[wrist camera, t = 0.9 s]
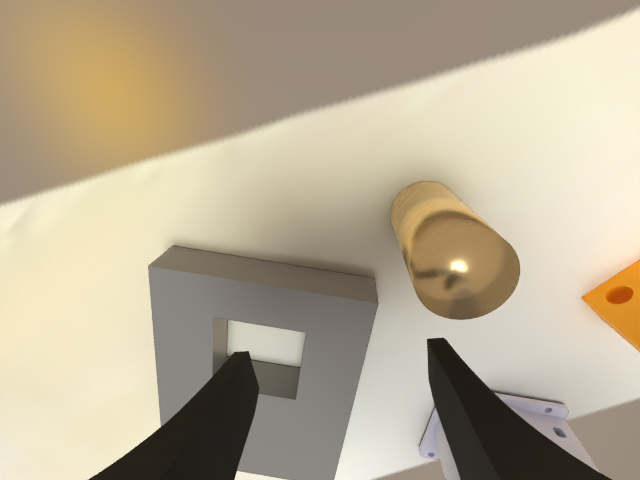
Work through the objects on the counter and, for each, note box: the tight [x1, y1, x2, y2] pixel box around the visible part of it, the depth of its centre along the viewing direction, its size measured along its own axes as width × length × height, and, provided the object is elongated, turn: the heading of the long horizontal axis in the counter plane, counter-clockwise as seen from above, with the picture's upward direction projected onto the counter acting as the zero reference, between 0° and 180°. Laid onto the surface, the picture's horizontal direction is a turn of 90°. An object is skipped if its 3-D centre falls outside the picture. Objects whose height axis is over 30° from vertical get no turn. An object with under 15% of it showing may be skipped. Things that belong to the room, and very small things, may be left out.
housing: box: [148, 246, 378, 480], centre depth 25 cm, size 14×18×3 cm
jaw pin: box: [390, 182, 520, 320], centre depth 17 cm, size 4×4×8 cm
